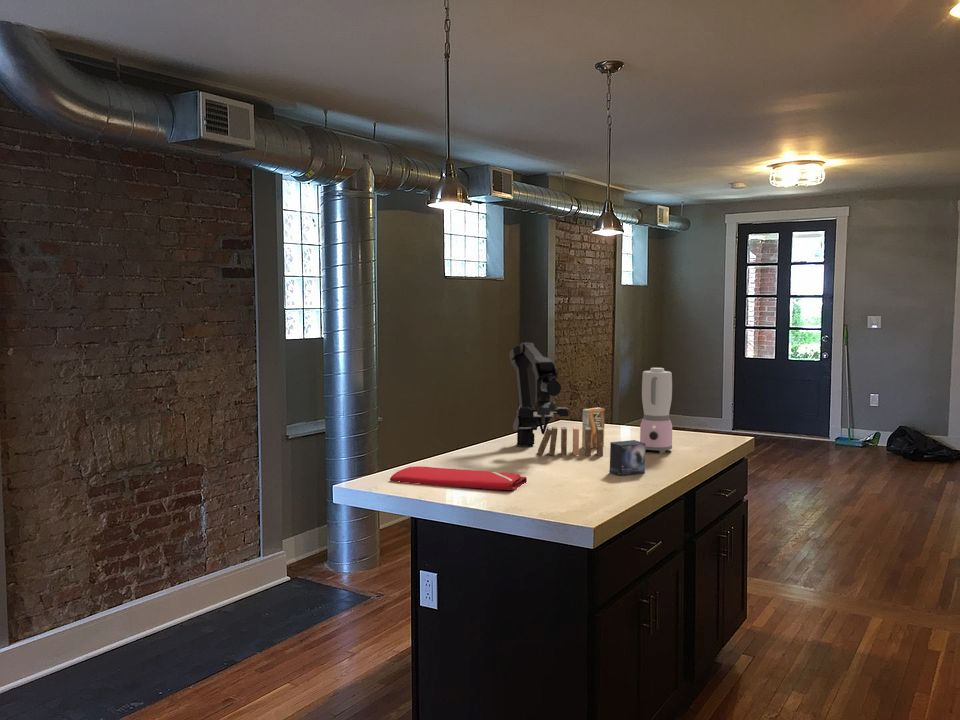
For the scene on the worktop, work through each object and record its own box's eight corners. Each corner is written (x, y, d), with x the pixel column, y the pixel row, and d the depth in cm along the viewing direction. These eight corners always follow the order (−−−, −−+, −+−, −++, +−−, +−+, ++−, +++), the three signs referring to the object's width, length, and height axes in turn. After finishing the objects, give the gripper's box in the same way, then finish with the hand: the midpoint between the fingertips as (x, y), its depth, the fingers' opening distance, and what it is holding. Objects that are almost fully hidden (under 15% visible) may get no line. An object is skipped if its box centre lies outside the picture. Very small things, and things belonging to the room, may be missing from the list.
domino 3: (561, 455, 295) (562, 429, 294) (561, 452, 301) (561, 426, 300) (566, 455, 295) (566, 429, 294) (565, 452, 300) (566, 426, 300)
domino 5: (585, 455, 294) (586, 429, 294) (584, 453, 300) (585, 427, 299) (590, 456, 294) (591, 429, 294) (589, 453, 300) (589, 427, 299)
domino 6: (598, 456, 294) (598, 429, 294) (596, 453, 300) (596, 427, 299) (602, 456, 294) (603, 429, 293) (601, 453, 300) (601, 427, 299)
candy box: (596, 445, 317) (597, 407, 316) (604, 446, 314) (605, 408, 313) (581, 447, 312) (581, 409, 311) (589, 449, 309) (589, 410, 307)
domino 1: (538, 453, 295) (548, 429, 295) (537, 450, 301) (547, 426, 300) (542, 455, 295) (552, 430, 294) (542, 452, 301) (551, 428, 300)
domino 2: (549, 455, 295) (552, 428, 294) (549, 452, 301) (552, 426, 300) (554, 455, 295) (557, 429, 294) (553, 452, 301) (556, 426, 300)
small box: (620, 476, 260) (621, 445, 259) (608, 472, 265) (609, 442, 265) (646, 473, 264) (646, 442, 264) (633, 469, 270) (634, 439, 269)
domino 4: (577, 453, 300) (577, 427, 300) (578, 455, 295) (578, 429, 294) (572, 453, 300) (573, 426, 300) (573, 455, 295) (574, 429, 294)
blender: (643, 446, 313) (644, 366, 311) (674, 449, 309) (675, 367, 307) (635, 453, 299) (636, 369, 297) (668, 456, 294) (669, 370, 292)
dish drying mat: (411, 473, 266) (411, 462, 266) (527, 483, 251) (527, 472, 251) (389, 483, 251) (389, 471, 251) (511, 494, 236) (511, 482, 236)
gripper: (518, 395, 289) (518, 437, 290) (569, 395, 288) (569, 438, 289) (518, 391, 300) (518, 432, 301) (567, 392, 299) (567, 433, 300)
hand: (543, 434), depth 298 cm, fingers closed
